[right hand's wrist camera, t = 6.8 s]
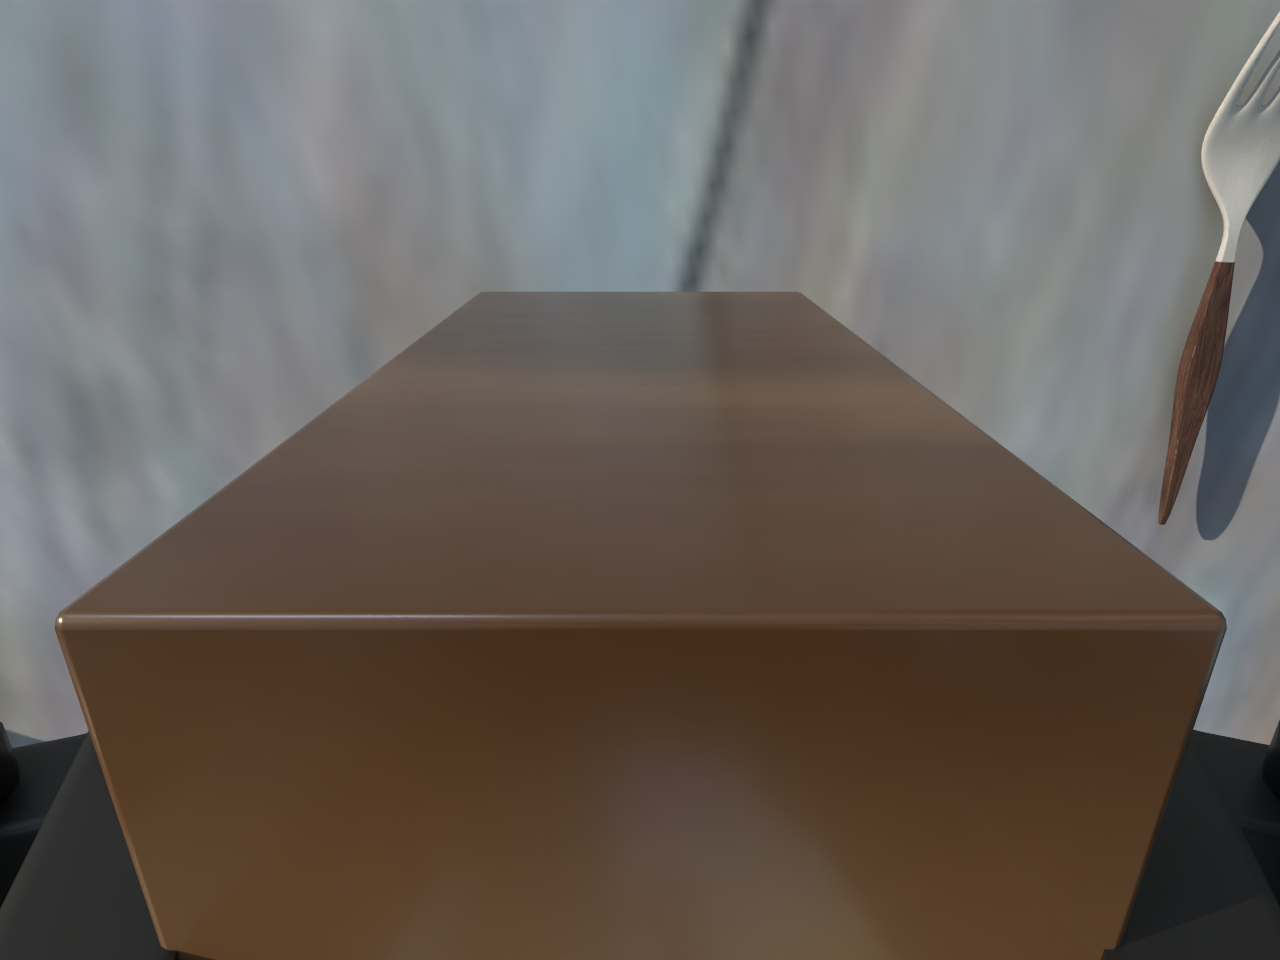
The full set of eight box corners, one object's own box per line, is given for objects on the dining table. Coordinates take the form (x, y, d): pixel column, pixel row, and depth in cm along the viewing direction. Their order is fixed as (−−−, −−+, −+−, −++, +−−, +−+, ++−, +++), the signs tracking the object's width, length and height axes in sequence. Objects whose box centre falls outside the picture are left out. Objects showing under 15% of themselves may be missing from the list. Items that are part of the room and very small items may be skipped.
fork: (1116, 519, 28) (1150, 544, 26) (1228, 15, 22) (1282, 0, 20) (1188, 517, 28) (1227, 542, 26) (1319, 11, 22) (1382, -3, 20)
